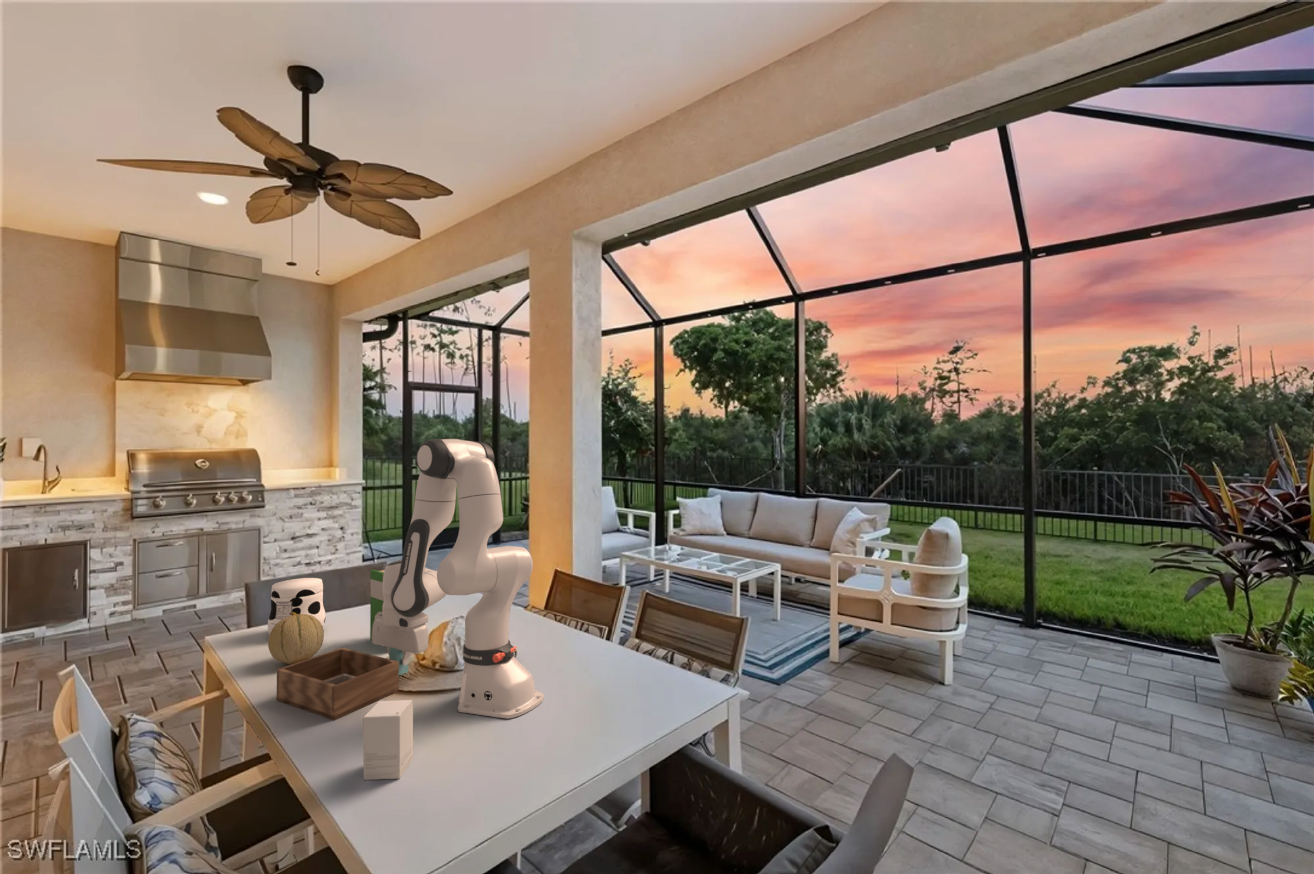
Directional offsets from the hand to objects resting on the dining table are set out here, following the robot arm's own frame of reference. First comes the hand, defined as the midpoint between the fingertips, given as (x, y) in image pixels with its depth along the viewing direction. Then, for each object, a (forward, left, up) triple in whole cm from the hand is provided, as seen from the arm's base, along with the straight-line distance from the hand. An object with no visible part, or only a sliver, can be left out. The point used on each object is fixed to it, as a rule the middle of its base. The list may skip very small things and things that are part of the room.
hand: (399, 663), depth 164 cm
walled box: (+2, +17, -3) cm, 17 cm away
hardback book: (+24, -17, -3) cm, 30 cm away
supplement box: (-40, +34, -3) cm, 53 cm away
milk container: (+63, -8, -3) cm, 64 cm away
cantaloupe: (+36, +8, -3) cm, 37 cm away
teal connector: (0, 0, -3) cm, 3 cm away
